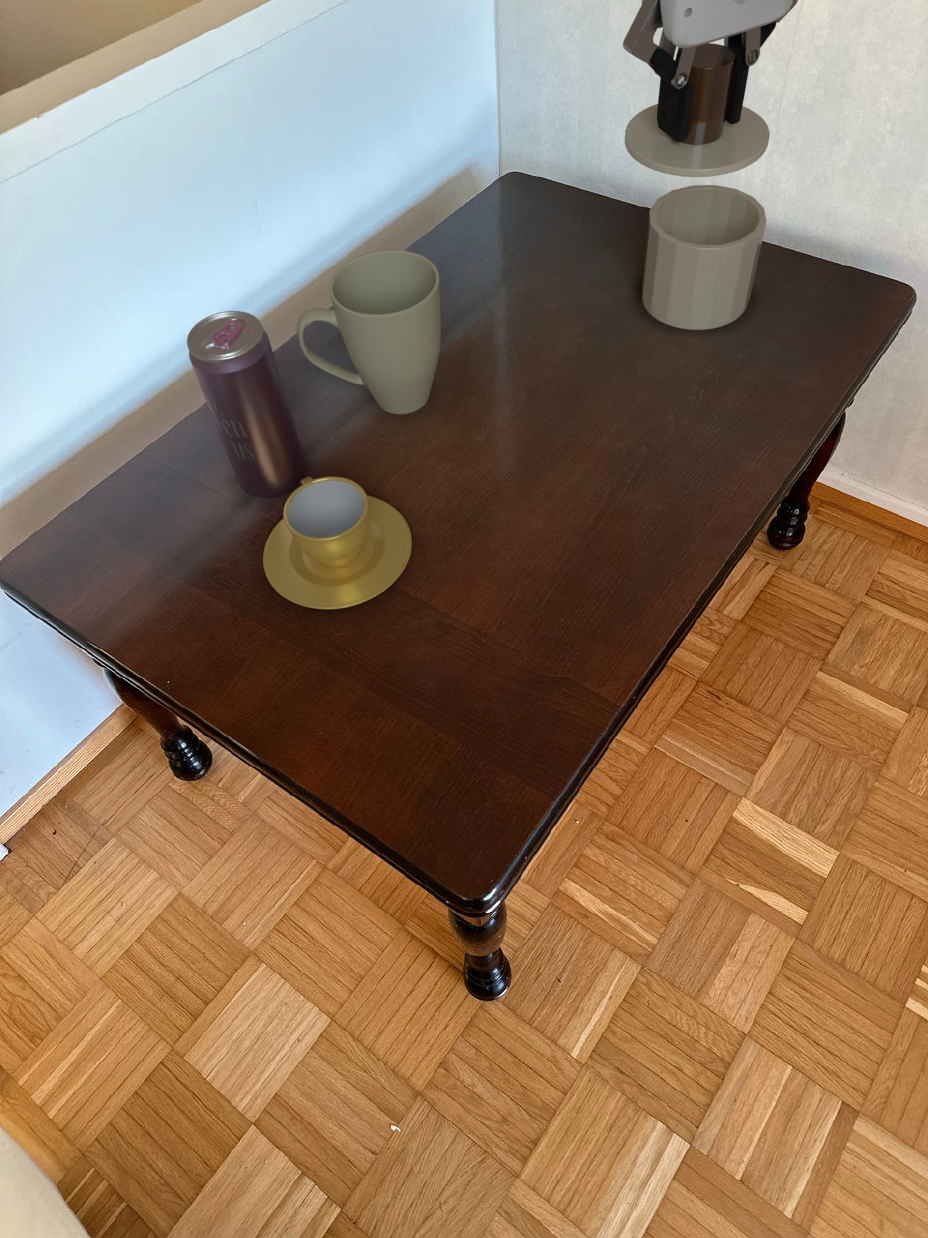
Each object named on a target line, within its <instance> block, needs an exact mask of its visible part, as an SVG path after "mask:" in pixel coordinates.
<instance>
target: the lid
mask: <svg viewBox="0 0 928 1238" xmlns="http://www.w3.org/2000/svg"><path fill="white" fill-rule="evenodd" d="M734 60H735V54H734V52H733V51H732V50H731V49H730V48H728V47H726V46H724V44H720V43H713V42H711V43H708V44H704V45H701V46H697V49H696V52H695V56H694V60H693V64H692V67H691V71H690V75H689V79H688V81H687V83H689V84H690V85H692V86H693V89H694V92H693V100H692V107H691V115H690V123H689V131H688V137H687V138H686V140H685V141H682V142H677V141H675V140H674V139H673V138H671V137H670V136H669V135H667V134H666V133H665V132H663V131H662V130H661V129H660V128H659V127H658V121H657V108H658V103H655V104H653V105H651V106H648V107H647V108H644V109H642V110H641V111H640V112H638V113H636V114H635V115H634V116H633V117H631V119H630V120H629V122H628V123H627V125H626V127H625V130H624V147H625V149H626V151H627V152H628V155H630V157H632V159H634V160H635V161H636V162H637V163H639V164H640V165H642V166H643V167H646V168H648V169H650V170H653V171H655V172H659V173H662V174H665V175H670V176H676V177H685V178H709V177H710V178H711V177H717V176H722V175H727V174H731V173H734V172H738V171H740V170H743V169H746V168H747V167H749V166H751V165H753V164H754V163H755V162H757V161H758V160H759V159H760V158H762V157H763V155H764V154H765V152H766V151H767V149H768V147H769V141H770V136H771V135H770V129H769V126H768V123H767V122H766V121H765V120H764V118H763V117H762V116H761V115H759V114H758V113H757V112H756V111H754V110H752V109H750V108H748V107H747V106H744V105H743V106H742V112H741V118H740V121H739V122H738V123H735V124H730V123H728V122H727V121H725V117H726V111H727V104H728V98H729V92H730V85H731V79H732V73H733V66H734Z"/></svg>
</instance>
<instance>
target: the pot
mask: <svg viewBox="0 0 928 1238" xmlns="http://www.w3.org/2000/svg"><path fill="white" fill-rule="evenodd" d="M765 211H766V210H765V207H764V206H763V205H761V203H760V202H759V201H758V200H757V199H756V198H755V197H754V196H752V195H750V194H748V193H746V192H743V191H742V190H739V189H737V188H734V187H728V186H723V185H718V184H698V185H697V184H695V185H688V186H685V187H680V188H677V189H673V190H671V191H668V192H667V193H665V194H664V195H662V196H660V197H658V198H657V199H656V200H655V202H654V203H653V205H652V207H651V208H650V209H649V211H648V219H647V232H646V240H645V241H646V242H645V252H644V262H643V271H642V280H641V302H642V304H643V307H644V308H645V310H646V311H647V313H648V314H649V315H651V316H652V317H653V318H654V319H656V320H657V321H659V322H660V323H663V324H665V325H667V326H669V327H673V328H677V329H681V330H688V331H689V330H691V331H706V330H713V329H717V328H721V327H724V326H726V325H729V324H731V323H732V322H734V321H736V320H737V319H738V318H740V317H741V316H742V315H743V314H744V313H745V311H746V309H747V307H748V305H749V301H750V299H751V296H752V290H753V286H754V281H755V276H756V273H757V268H758V263H759V258H760V253H761V249H762V244H763V239H764V235H765V230H766V225H767V217H766V212H765Z"/></svg>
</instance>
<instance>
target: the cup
mask: <svg viewBox="0 0 928 1238" xmlns="http://www.w3.org/2000/svg"><path fill="white" fill-rule="evenodd" d="M300 483H301V485H300V487H299V488H297V489H296V490H295V491H294V492H293V493H292V494H290V495H289V496H288V497H287V498H286V499H287V500H285V503H284V506H283V512H282V518H281V520H279V521H278V523H277V524H276V525H275V526H274V528H273V529H272V530H271V532H270V534H269V535H268V537H267V540H266V542H265V545H264V549H263V552H262V553H263V554H262V566H263V571H264V573H265V576H266V578H267V580H268V582H269V584H270V585H271V587H272V588H273V589H274V590H275V592H277V593H278V594H279V595H280V596H282V597H283V598H284V599H287V600H288V601H290V602H292V603H294V604H296V605H299V606H302V607H306V608H309V609H317V610H338V609H344V608H349V607H353V606H356V605H360V604H362V603H364V602H367V601H370V600H371V599H373V598H375V597H377V596H378V595H380V594H381V593H383V592H385V591H386V590H387V589H388V588H389V587H391V586H393V584H394V583H395V582H396V581H397V580H398V579H399V577H400V576H401V574H402V573H403V572H404V570H405V569H406V566H407V565H408V563H409V560H410V557H411V554H412V548H413V547H412V546H413V538H412V532H411V529H410V526H409V524H408V522H407V520H406V519H405V518H404V516H403V514H401V512H399V510H397V509H396V508H395V507H394V506H393V505H391V504H389V503H388V502H386V501H384V500H382V499H380V498H378V497H374V496H371V495H368V494H367V493H366V491H365V490H364V488H363V487H362V486H360V484H359V483H357V482H355V481H353V480H351V479H349V478H346V477H341V476H323V477H318V478H314V479H313V477H311V476H307V477H306V476H305V478H304V479H302V480H301V481H300Z"/></svg>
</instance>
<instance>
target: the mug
mask: <svg viewBox="0 0 928 1238" xmlns="http://www.w3.org/2000/svg"><path fill="white" fill-rule="evenodd" d="M440 285H441V284H440V273H439V270H438V268H437V266H436V265H435V263H433V262H432V261H431V260H430V259H429V258H427V257H426V256H424V255H422V254H420V253H417V252H413V251H409V250H404V249H382V250H375V251H371V252H367V253H364V254H362V255H361V254H360V255H359V256H356V257H354V258H352V259H350V260H348V261H347V262H346V263H344V264H343V265H341V267H339V268H338V269H337V270H336V271H335V272H334V274H333V275H332V277H331V279H330V282H329V287H328V288H329V295H330V299H331V303H332V306H333V308H323V307H313V308H309V309H307V310H305V311H303V312H302V313H301V314H300V315H299V317H298V320H297V324H296V334H297V340H298V344H299V347H300V349H301V351H302V353H303V355H304V356H305V358H306V359H307V360H308V361H309V362H310V363H312V364H313V365H314V366H315V367H317V368H319V369H320V370H322V371H324V372H326V373H328V374H330V375H331V376H334V377H336V378H339V379H341V380H344V381H346V382H349V383H352V384H356V385H358V386H359V385H360V386H365V387H366V388H367V390H368V391H369V392H370V394H371V395H372V397H373V399H374V400H375V402H376V403H377V405H378V406H379V407H380V408H381V409H382V410H383V411H385V412H387V413H389V414H393V415H408V414H412V413H414V412H416V411H419V410H420V409H422V407H424V406H425V405H426V404H427V402H429V401H428V400H429V399H430V395H431V392H432V391H431V390H432V387H433V382H434V380H435V375H436V370H437V367H438V362H439V358H440V352H441V346H442V345H441V344H442V342H441V341H442V314H441V313H442V312H441V286H440ZM315 321H316V322H324V323H326V324H330V325H332V326H334V327H335V328H337V329H338V330H339V331H340V334H341V336H342V340H343V342H344V346H345V348H346V350H347V353H348V356H349V359H350V360H351V362H352V365H353V367H354V369H355V370H356V372H357V373H355V372H351V371H349V370H347V369H345V368H342V367H340V366H338V365H336V364H333V363H331V362H330V361H328V360H326V359H324V358H322V357H320V356H319V355H318V354H316V353H315V352H313V351H312V350H311V349H310V348H309V346H308V345H307V342H306V339H305V329H306V327H307V326H308V324H310V323H312V322H315Z"/></svg>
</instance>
